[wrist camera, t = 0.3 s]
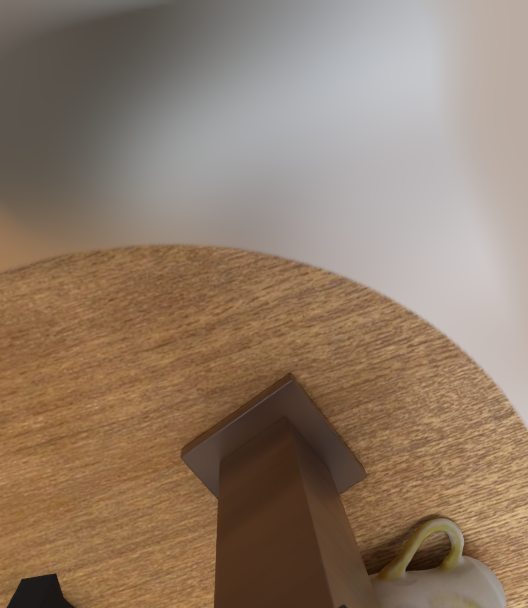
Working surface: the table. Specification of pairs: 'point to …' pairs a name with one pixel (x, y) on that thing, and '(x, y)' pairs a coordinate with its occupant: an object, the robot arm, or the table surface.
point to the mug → (438, 577)
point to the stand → (281, 505)
